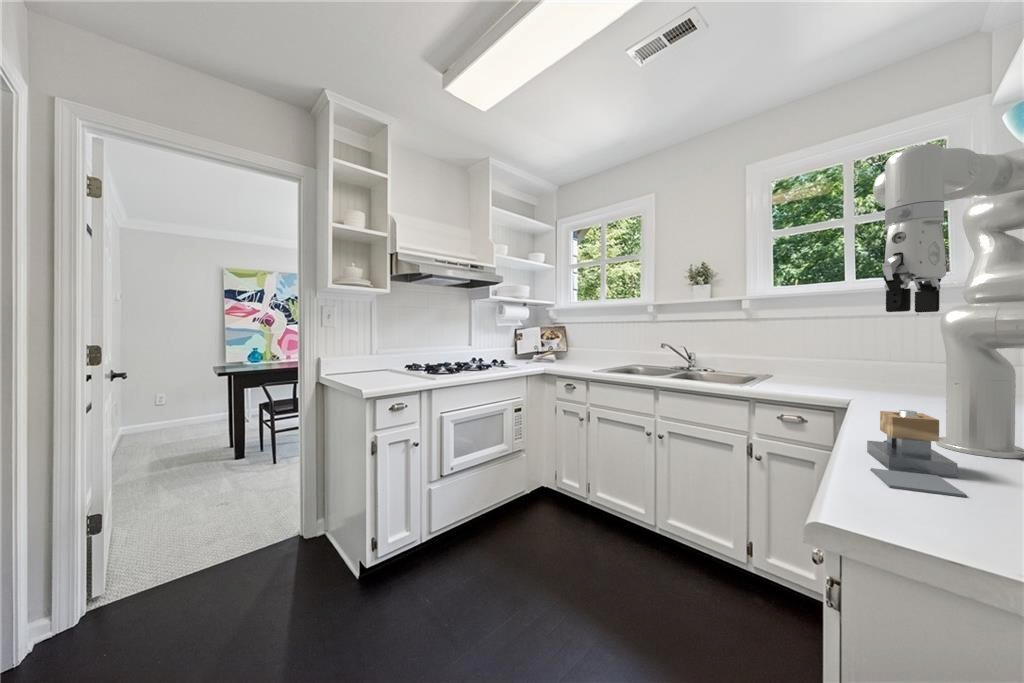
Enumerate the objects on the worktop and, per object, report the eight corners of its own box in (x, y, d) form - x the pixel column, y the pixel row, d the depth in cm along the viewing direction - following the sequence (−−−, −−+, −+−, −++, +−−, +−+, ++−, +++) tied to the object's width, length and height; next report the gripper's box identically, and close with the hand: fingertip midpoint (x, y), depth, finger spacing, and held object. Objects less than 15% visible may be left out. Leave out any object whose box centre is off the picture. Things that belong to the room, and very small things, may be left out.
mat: (870, 470, 73) (870, 468, 73) (937, 477, 68) (937, 475, 68) (889, 487, 65) (889, 485, 65) (966, 497, 61) (966, 494, 61)
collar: (880, 430, 80) (880, 410, 80) (922, 433, 77) (923, 413, 77) (892, 437, 74) (892, 417, 74) (939, 441, 71) (939, 420, 71)
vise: (859, 445, 88) (859, 400, 87) (914, 450, 83) (914, 403, 83) (889, 470, 73) (889, 415, 72) (957, 477, 68) (957, 419, 68)
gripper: (915, 206, 64) (914, 310, 65) (966, 217, 71) (965, 311, 71) (860, 219, 71) (860, 312, 71) (911, 227, 78) (911, 313, 78)
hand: (912, 311), depth 71 cm, fingers open, 9 cm apart
